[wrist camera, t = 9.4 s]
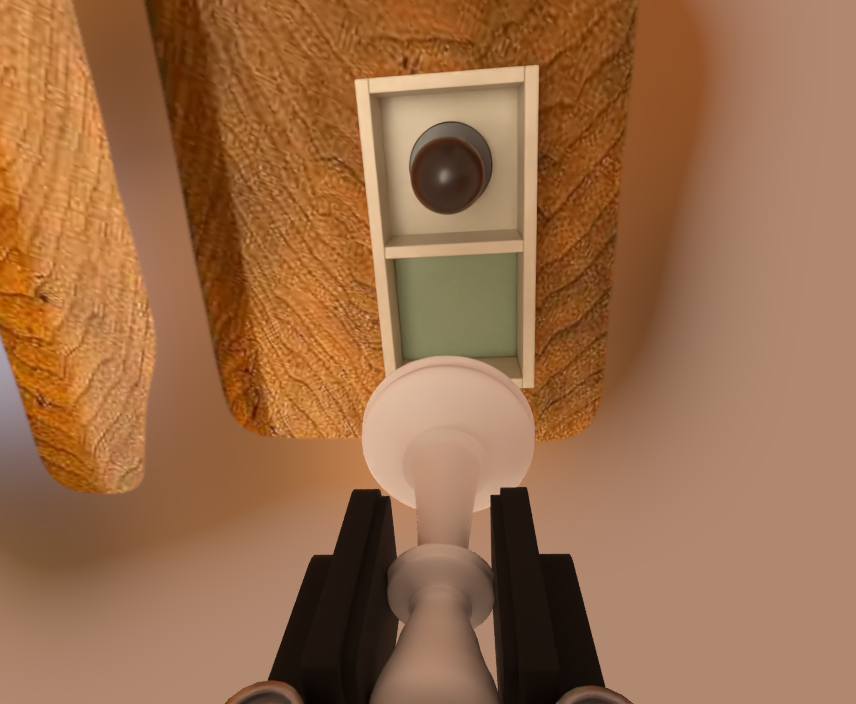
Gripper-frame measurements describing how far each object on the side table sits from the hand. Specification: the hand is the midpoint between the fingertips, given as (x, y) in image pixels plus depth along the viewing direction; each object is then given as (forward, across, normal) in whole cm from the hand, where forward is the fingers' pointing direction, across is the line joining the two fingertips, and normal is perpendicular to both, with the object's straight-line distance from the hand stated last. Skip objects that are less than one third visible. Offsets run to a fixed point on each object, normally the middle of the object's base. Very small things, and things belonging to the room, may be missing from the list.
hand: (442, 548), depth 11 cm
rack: (+20, 0, -3) cm, 20 cm away
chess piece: (+5, 0, 0) cm, 5 cm away
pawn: (+19, 0, -6) cm, 20 cm away
